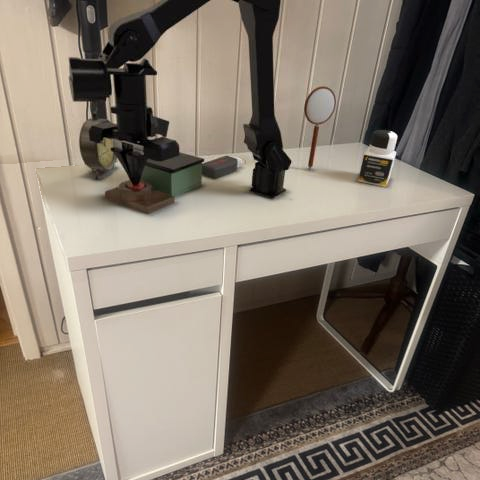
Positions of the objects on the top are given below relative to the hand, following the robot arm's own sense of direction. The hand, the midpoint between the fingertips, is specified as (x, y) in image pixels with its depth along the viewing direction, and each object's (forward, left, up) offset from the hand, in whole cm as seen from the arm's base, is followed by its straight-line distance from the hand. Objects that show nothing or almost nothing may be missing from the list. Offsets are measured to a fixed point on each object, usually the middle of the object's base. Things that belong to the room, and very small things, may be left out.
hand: (135, 184), depth 94 cm
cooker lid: (+2, -12, +2) cm, 12 cm away
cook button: (0, 0, -2) cm, 2 cm away
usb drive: (-1, -29, -4) cm, 29 cm away
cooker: (+2, -12, -4) cm, 13 cm away
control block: (0, -1, -4) cm, 4 cm away
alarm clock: (+18, -7, -4) cm, 20 cm away
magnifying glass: (-17, -47, -4) cm, 50 cm away
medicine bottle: (-33, -52, -4) cm, 62 cm away
